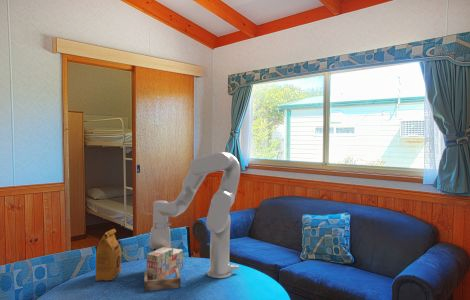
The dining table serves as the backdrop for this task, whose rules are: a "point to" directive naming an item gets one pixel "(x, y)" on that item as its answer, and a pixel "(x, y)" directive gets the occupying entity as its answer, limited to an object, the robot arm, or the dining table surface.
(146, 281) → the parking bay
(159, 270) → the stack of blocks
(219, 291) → the dining table surface
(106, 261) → the coffee package
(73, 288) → the dining table surface
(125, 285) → the dining table surface
